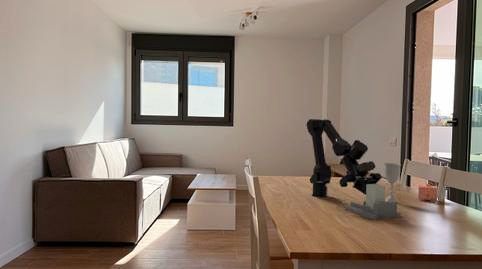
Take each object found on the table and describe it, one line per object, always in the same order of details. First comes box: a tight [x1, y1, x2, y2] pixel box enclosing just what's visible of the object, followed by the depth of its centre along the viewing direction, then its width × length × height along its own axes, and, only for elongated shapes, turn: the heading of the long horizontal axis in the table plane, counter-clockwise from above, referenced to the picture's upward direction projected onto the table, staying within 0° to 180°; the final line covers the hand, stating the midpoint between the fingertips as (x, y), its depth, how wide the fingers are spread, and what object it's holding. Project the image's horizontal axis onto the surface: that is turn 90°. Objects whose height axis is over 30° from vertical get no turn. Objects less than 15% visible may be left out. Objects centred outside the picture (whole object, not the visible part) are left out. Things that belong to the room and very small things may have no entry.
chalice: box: [383, 162, 402, 203], centre depth 159 cm, size 7×7×18 cm
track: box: [344, 200, 402, 221], centre depth 137 cm, size 16×14×6 cm
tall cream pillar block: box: [365, 183, 386, 208], centre depth 135 cm, size 5×5×10 cm
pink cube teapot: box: [417, 183, 438, 203], centre depth 163 cm, size 8×12×8 cm, turn 149°
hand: (370, 196), depth 138 cm, fingers closed
